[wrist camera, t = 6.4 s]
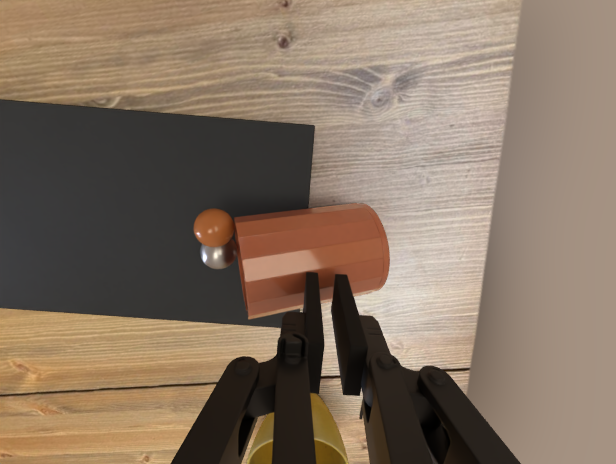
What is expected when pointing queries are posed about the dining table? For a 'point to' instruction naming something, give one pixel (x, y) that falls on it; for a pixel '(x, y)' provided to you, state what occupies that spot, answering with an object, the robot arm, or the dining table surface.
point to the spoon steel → (219, 255)
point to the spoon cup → (308, 254)
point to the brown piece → (214, 227)
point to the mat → (135, 207)
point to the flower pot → (325, 436)
